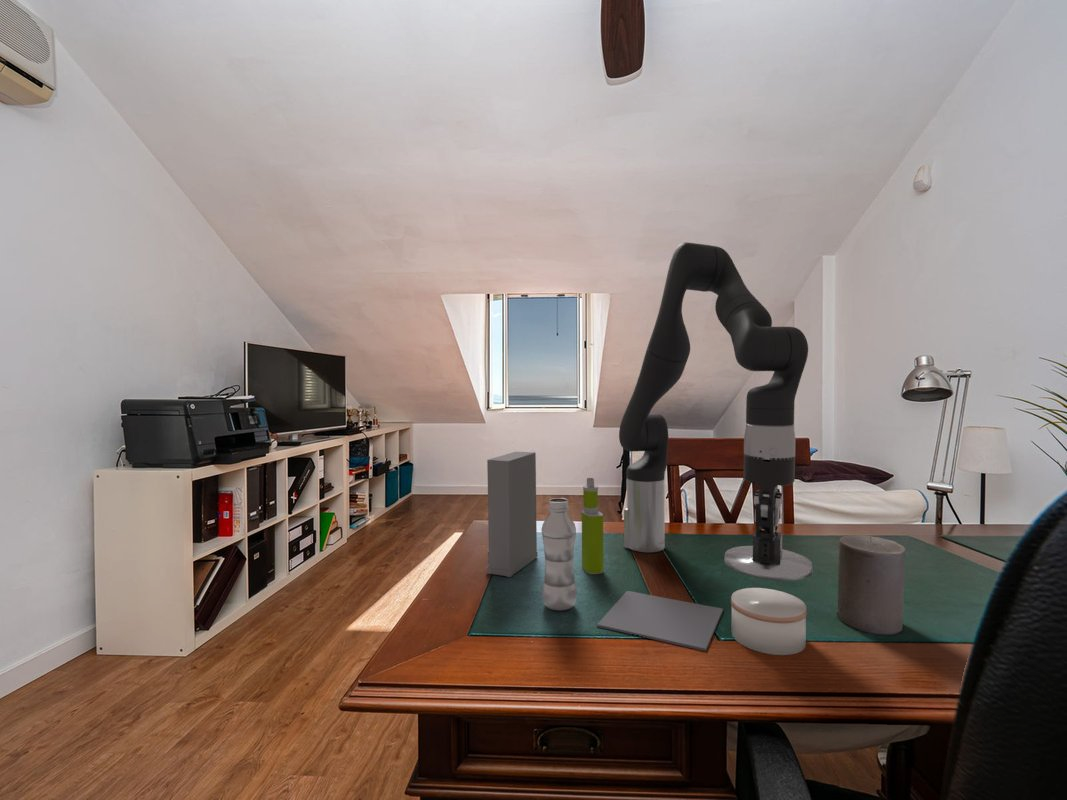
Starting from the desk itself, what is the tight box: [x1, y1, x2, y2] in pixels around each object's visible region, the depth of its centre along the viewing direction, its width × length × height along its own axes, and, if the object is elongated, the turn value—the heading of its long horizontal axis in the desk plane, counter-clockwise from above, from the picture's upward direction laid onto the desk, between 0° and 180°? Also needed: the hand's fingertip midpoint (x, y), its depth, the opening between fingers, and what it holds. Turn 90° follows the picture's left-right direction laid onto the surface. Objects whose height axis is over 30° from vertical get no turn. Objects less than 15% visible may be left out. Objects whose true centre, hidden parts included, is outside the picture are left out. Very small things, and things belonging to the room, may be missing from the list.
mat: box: [596, 590, 724, 652], centre depth 94 cm, size 18×16×1 cm
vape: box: [581, 477, 604, 575], centre depth 118 cm, size 4×6×20 cm, turn 14°
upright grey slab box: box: [485, 451, 539, 578], centre depth 121 cm, size 14×6×25 cm, turn 155°
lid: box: [724, 529, 814, 582], centre depth 87 cm, size 13×13×5 cm
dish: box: [730, 587, 808, 656], centre depth 87 cm, size 11×11×6 cm
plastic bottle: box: [541, 497, 578, 611], centre depth 99 cm, size 6×7×20 cm
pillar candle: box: [836, 534, 906, 635], centre depth 92 cm, size 10×10×15 cm
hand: (767, 557), depth 87 cm, fingers closed on lid, 4 cm apart
